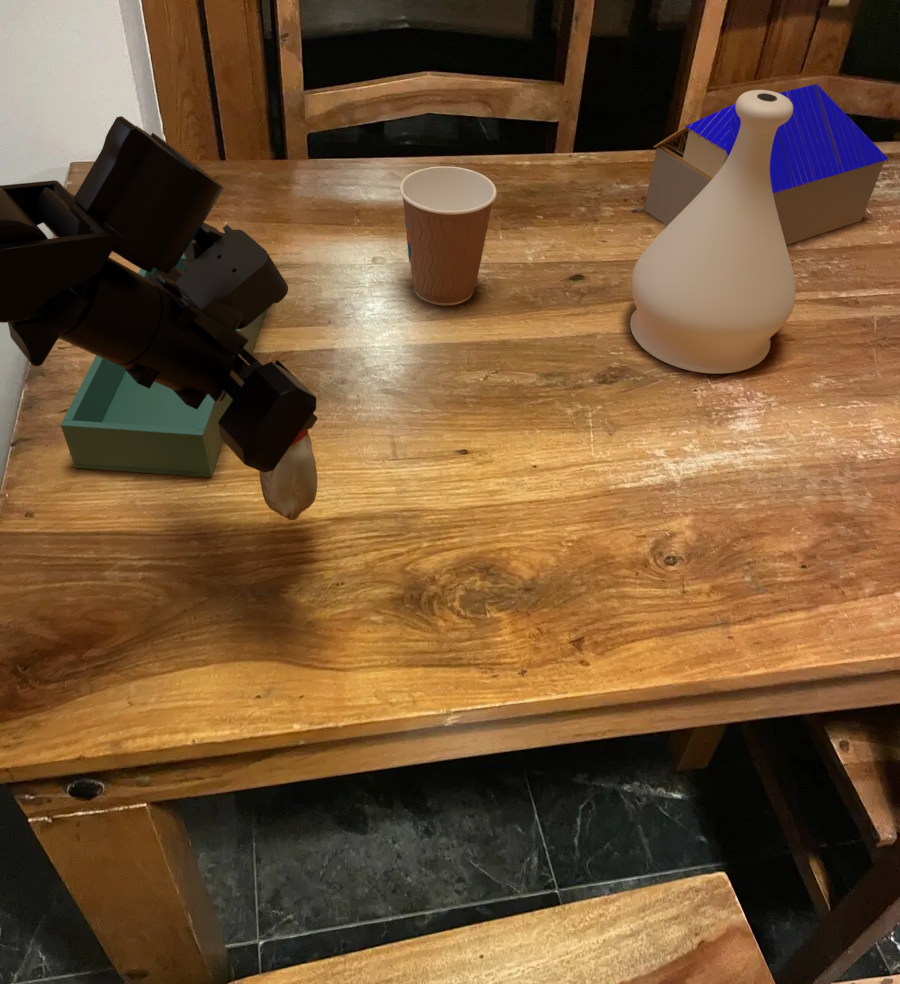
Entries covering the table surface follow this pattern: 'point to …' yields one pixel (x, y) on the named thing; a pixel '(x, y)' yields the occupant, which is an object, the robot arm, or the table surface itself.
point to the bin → (144, 421)
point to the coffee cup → (446, 230)
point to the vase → (721, 260)
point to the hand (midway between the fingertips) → (294, 403)
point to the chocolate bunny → (292, 480)
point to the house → (777, 165)
